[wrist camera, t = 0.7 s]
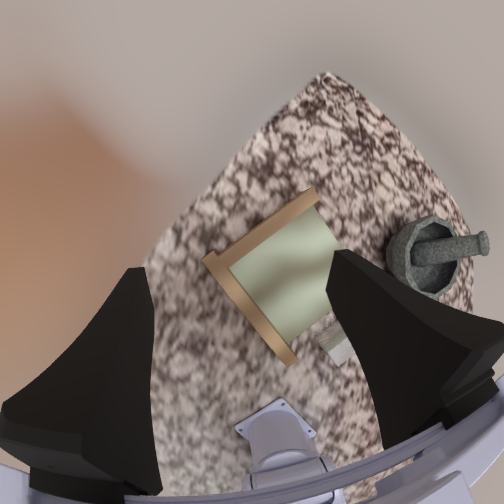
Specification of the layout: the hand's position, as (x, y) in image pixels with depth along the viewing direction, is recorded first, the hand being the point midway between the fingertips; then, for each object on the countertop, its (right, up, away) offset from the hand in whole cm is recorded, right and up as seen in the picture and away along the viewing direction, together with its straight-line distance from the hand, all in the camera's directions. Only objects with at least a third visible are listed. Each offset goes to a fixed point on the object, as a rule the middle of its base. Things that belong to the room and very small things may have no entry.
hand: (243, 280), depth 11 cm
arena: (+5, -1, +23) cm, 23 cm away
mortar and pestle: (+21, +1, +25) cm, 33 cm away
